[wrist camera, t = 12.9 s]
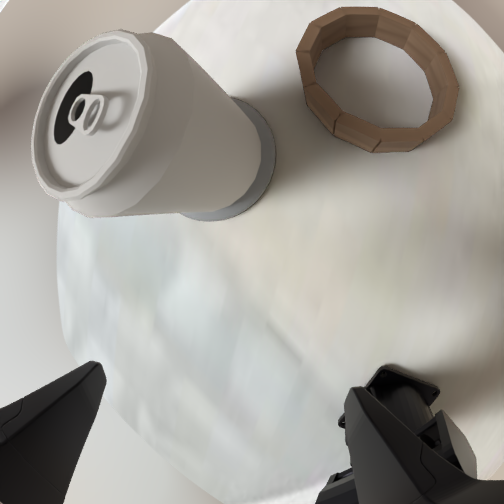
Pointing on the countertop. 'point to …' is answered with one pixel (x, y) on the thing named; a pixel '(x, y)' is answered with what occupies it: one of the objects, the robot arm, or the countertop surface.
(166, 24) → the countertop surface
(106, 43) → the can
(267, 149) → the mat
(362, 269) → the countertop surface
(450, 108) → the collar
